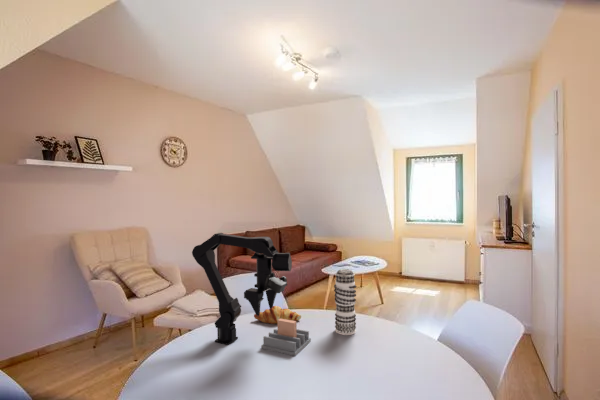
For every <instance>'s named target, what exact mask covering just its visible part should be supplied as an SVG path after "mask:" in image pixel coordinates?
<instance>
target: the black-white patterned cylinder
mask: <svg viewBox="0 0 600 400" xmlns="http://www.w3.org/2000/svg"><path fill="white" fill-rule="evenodd" d="M355 275H356V274H355V272H353V270H352V269H348V268H347V269H346V268H342V269H339V270H337V272H335V284H334V286H333V287H334V290H333V291H334V302H335V307H336V308H335V314H334V315H335V317H334V319H335V322H334V324H335V325H334V328H335V330H334V331H335V333H336V334H339V335H343V336H350V335H355V334H356V333H357V330H356V329H357V326H356V325H357V321H356V320H357V318H356V315H357V314H356V309H355V304H356V302H357V299H356V298H355V297H356V296H357V294H356V293H357V290H356V289H355V288H357V285H356V282H355Z"/></svg>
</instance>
